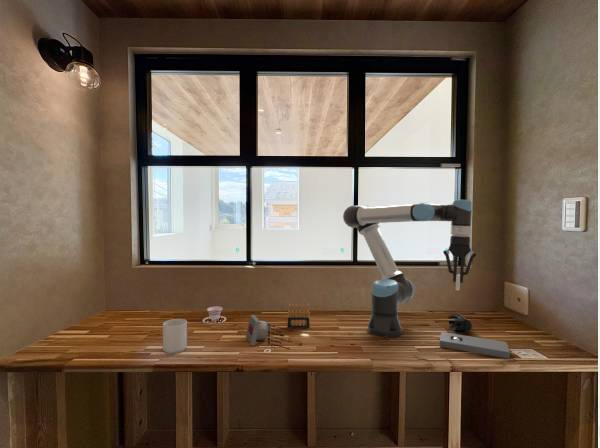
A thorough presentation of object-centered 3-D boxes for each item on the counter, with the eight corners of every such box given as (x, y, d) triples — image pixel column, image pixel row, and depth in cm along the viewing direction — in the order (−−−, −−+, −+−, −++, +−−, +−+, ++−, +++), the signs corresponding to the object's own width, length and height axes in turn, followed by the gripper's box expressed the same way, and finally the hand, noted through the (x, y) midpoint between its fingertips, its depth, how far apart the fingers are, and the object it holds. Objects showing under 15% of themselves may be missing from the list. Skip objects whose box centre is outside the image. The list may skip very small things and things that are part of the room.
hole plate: (439, 346, 128) (439, 340, 128) (441, 337, 137) (441, 331, 137) (509, 358, 116) (509, 352, 116) (506, 348, 126) (506, 342, 126)
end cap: (472, 334, 141) (472, 319, 141) (455, 333, 142) (455, 319, 142) (463, 326, 151) (463, 313, 151) (448, 326, 152) (448, 312, 152)
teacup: (222, 324, 154) (222, 312, 154) (198, 324, 154) (198, 311, 154) (228, 317, 166) (228, 305, 166) (206, 316, 166) (206, 305, 166)
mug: (184, 354, 120) (184, 325, 120) (160, 355, 118) (160, 326, 118) (190, 342, 132) (190, 315, 132) (168, 343, 130) (168, 316, 130)
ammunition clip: (287, 327, 149) (287, 303, 149) (287, 326, 151) (287, 302, 151) (309, 328, 149) (309, 303, 149) (309, 326, 151) (309, 302, 151)
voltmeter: (237, 342, 132) (237, 318, 132) (254, 333, 141) (254, 312, 141) (288, 357, 118) (288, 331, 117) (304, 347, 127) (304, 323, 127)
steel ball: (460, 346, 128) (452, 345, 129) (460, 343, 130) (452, 343, 132) (459, 338, 128) (451, 338, 129) (459, 336, 130) (451, 336, 132)
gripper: (442, 235, 133) (440, 289, 134) (477, 237, 127) (474, 294, 128) (444, 234, 140) (441, 286, 141) (477, 236, 134) (474, 290, 135)
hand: (457, 289), depth 135 cm, fingers closed
